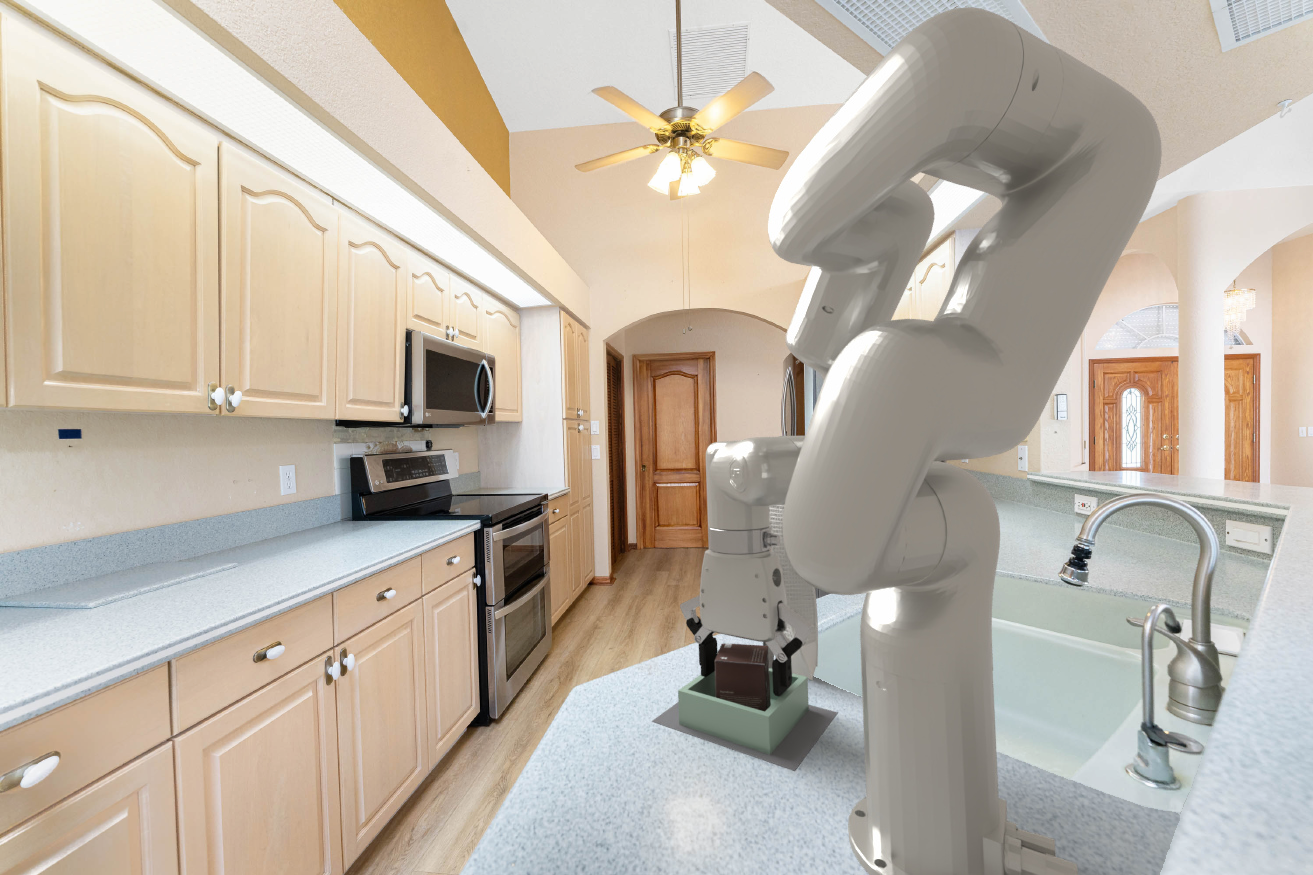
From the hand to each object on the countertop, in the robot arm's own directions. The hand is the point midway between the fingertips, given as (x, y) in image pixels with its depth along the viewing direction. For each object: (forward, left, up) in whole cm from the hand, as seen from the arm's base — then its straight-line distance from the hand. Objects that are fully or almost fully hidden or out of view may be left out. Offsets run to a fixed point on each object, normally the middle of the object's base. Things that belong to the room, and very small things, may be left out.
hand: (744, 681), depth 64 cm
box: (0, 0, -4) cm, 4 cm away
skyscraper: (0, -16, -5) cm, 17 cm away
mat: (0, 0, -5) cm, 5 cm away
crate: (0, 0, -4) cm, 4 cm away
